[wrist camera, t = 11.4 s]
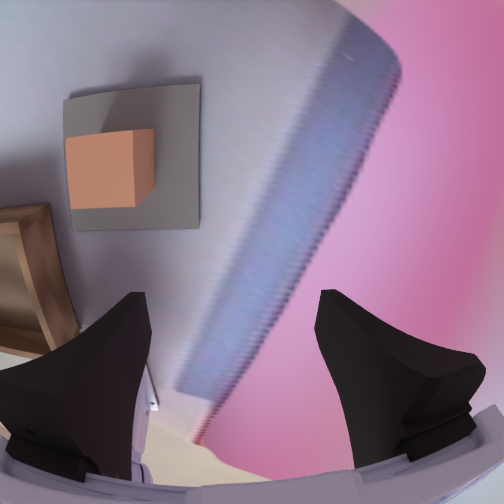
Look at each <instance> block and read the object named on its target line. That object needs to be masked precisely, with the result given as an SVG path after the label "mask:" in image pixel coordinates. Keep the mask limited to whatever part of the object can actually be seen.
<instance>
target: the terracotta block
mask: <svg viewBox="0 0 504 504" xmlns="http://www.w3.org/2000/svg"><path fill="white" fill-rule="evenodd" d="M66 160H67V175H68V187H69V196H70V205H71V209H88V208H111V207H136V206H137V205H138V203H139V202H140V201H141V200H142V199H143V198H144V197H145V196H146V195H147V194H148V193H149V192H150V191H151V190H152V189H153V188H154V187H155V169H154V129H141V130H128V131H117V132H108V133H99V134H91V135H84V136H77V137H70V138H66Z"/></svg>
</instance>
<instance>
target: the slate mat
mask: <svg viewBox="0 0 504 504" xmlns="http://www.w3.org/2000/svg"><path fill="white" fill-rule="evenodd" d="M199 109H200V84H182V85H165V86H152V87H142V88H133V89H125V90H117V91H110V92H104V93H98V94H92V95H87V96H81V97H76V98H72V99H67V100H64V106H63V130H64V156H65V171H66V182H67V192H68V200H69V208H70V215H71V222H72V228H73V231H100V230H139V229H199ZM141 129H154V169H155V187H154V188H153V189H152V190H151V191H150V192H149V193H148V194H147V195H146V196H145V197H144V198H143V199H142V200H141V201H140V202H139V203H138V205H137V206H136V207H111V208H88V209H71V205H70V196H69V187H68V175H67V160H66V138H70V137H77V136H84V135H91V134H99V133H108V132H117V131H128V130H141Z"/></svg>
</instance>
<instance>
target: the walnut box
mask: <svg viewBox="0 0 504 504" xmlns="http://www.w3.org/2000/svg"><path fill="white" fill-rule="evenodd" d="M80 333H81V332H80V329H79V326H78V323H77V320H76V317H75V314H74V311H73V308H72V305H71V301H70V298H69V295H68V291H67V287H66V284H65V280H64V276H63V272H62V268H61V264H60V260H59V255H58V251H57V246H56V241H55V236H54V231H53V225H52V219H51V213H50V206H49V203H43V204H33V205H23V206H15V207H6V208H0V352H3V353H8V354H12V355H16V356H21V357H25V358H30V359H36V358H38V357H41V356H43V355H45V354H47V353H49V352H51V351H53V350H55V349H56V348H58V347H60V346H62V345H64V344H65V343H67V342H69V341H70V340H72V339H73V338H75V337H76V336H78V335H79V334H80Z"/></svg>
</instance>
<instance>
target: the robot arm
mask: <svg viewBox="0 0 504 504" xmlns="http://www.w3.org/2000/svg"><path fill="white" fill-rule="evenodd" d="M314 330H315V333H316V338H317V341H318V345H319V348H320V351H321V353H322V356H323V358H324V360H325V363H326V365H327V367H328V369H329V372H330V374H331V377H332V379H333V381H334V384H335V386H336V388H337V391H338V394H339V397H340V400H341V404H342V407H343V411H344V415H345V419H346V423H347V427H348V431H349V436H350V442H351V447H352V453H353V459H354V466H355V469H354V470H341V471H334V472H327V473H321V474H316V475H310V476H304V477H298V478H291V479H285V480H275V481H265V482H253V483H234V484H218V485H205V486H201V487H183V486H168V485H157V484H153V479H152V475H151V473H150V471H149V469H148V467H147V466H146V465H145V464H143V463H140V462H141V455H142V454H143V452H144V448H145V441H146V434H147V427H148V421H149V414H150V410H154V411H156V410H158V409H159V405H158V402H157V399H156V396H155V393H154V389H153V386H152V383H151V379H150V376H149V372H148V369H147V365H146V361H147V358H148V354H149V348H150V341H151V334H152V331H151V326H150V321H149V315H148V310H147V304H146V298H145V292H130V293H129V294H127V295H126V296H125V297H124V298H123V299H122V300H121V301H119V302H118V303H117V304H116V305H115V306H114V307H113V308H112V309H110V310H109V311H108V312H107V313H106V314H105V315H104V316H102V317H101V318H100V319H99V320H97V321H96V322H95V323H94V324H92V325H91V326H90V327H89V328H87V329H86V330H85V331H84V332H82V333H81V334H79V335H78V336H76V337H75V338H73V339H72V340H70V341H69V342H67V343H65V344H64V345H62V346H60V347H58V348H56V349H55V350H53V351H51V352H49V353H47V354H45V355H43V356H41V357H38V358H36V359H34V360H31V361H29V362H26V363H23V364H20V365H17V366H14V367H10V368H7V369H3V370H0V422H1V423H2V424H3V425H4V426H5V427H6V429H7V430H8V431H9V432H10V433H11V436H10V439H9V440H7V439H6V438H5V437H3V436H1V435H0V504H444V503H446V502H448V501H449V500H451V499H453V498H454V497H456V496H458V495H459V494H461V493H463V492H464V491H466V490H467V489H469V488H470V487H472V486H474V485H475V484H477V483H478V482H479V481H481V480H482V479H484V478H485V477H487V476H488V475H489V474H490V473H491V472H493V471H494V470H495V469H496V468H497V467H499V466H500V465H501V464H502V463H503V462H504V417H503V415H502V414H501V412H500V411H499V410H498V408H497V406H496V405H495V404H494V405H491V406H490V407H488V408H486V409H484V410H482V411H481V412H479V413H477V414H476V415H475V416H474V417H473V418H472V417H471V416H470V414H469V412H470V411H471V410H472V407H471V406H470V404H469V403H468V402H469V401H470V399H471V398H472V397H473V395H474V394H475V392H476V391H477V389H478V388H479V386H480V385H481V383H482V382H483V380H484V377H485V374H486V368H485V366H484V365H483V364H482V362H481V361H480V360H479V359H478V357H477V356H476V355H475V354H472V353H466V352H461V351H456V350H451V349H447V348H444V347H440V346H437V345H434V344H431V343H428V342H425V341H422V340H420V339H417V338H415V337H413V336H411V335H408V334H406V333H404V332H402V331H400V330H398V329H396V328H394V327H392V326H391V325H389V324H387V323H386V322H384V321H382V320H381V319H379V318H377V317H376V316H374V315H373V314H371V313H370V312H368V311H367V310H365V309H364V308H362V307H361V306H359V305H358V304H356V303H355V302H354V301H352V300H351V299H349V298H348V297H346V296H345V295H344V294H342V293H341V292H339V291H337V290H335V289H330V290H321V296H320V301H319V306H318V312H317V317H316V322H315V327H314Z"/></svg>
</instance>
